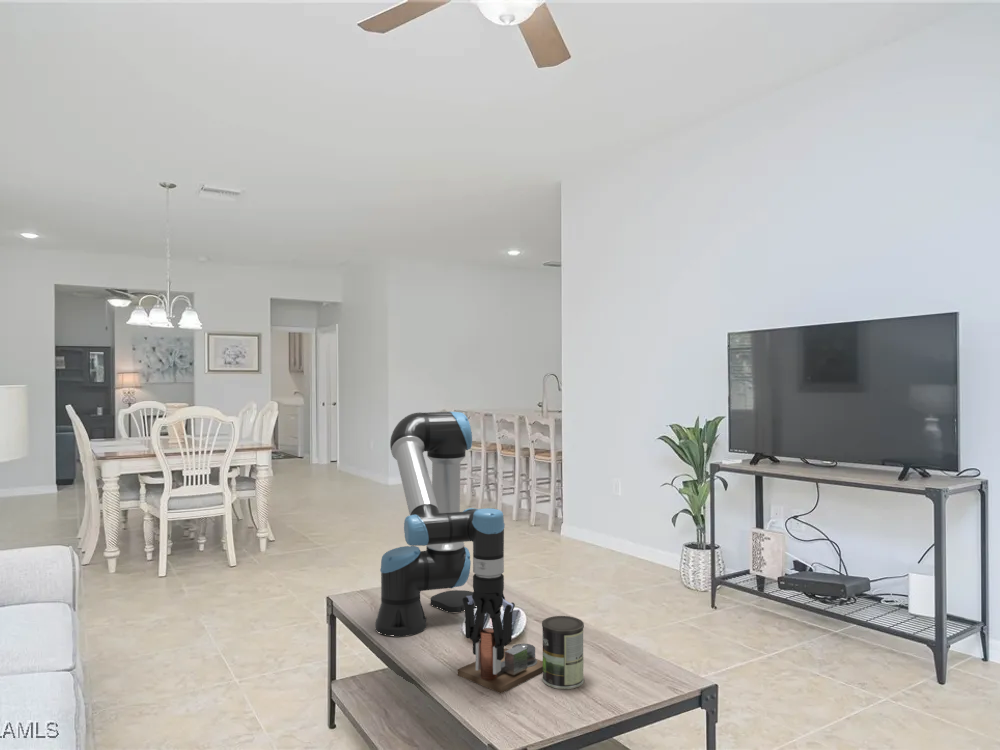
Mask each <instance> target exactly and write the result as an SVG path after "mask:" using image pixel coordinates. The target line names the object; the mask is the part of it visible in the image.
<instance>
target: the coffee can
mask: <svg viewBox="0 0 1000 750" xmlns="http://www.w3.org/2000/svg"><path fill="white" fill-rule="evenodd" d="M584 626H585V623H584V622H583V620H581V619H580V618H577V617H574V616H570V615H569V616H567V615H555V616H550V617H547V618H544V619H543V620H542V621H541V627H542V661H543V673H542V678H541V679H542V682H543V683H544V684H545V686H548V687H550V688H553V689H557V690H573V689H575V688H578V687H581V686H582V685H583V684H584V681H585V679H584Z"/></svg>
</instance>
